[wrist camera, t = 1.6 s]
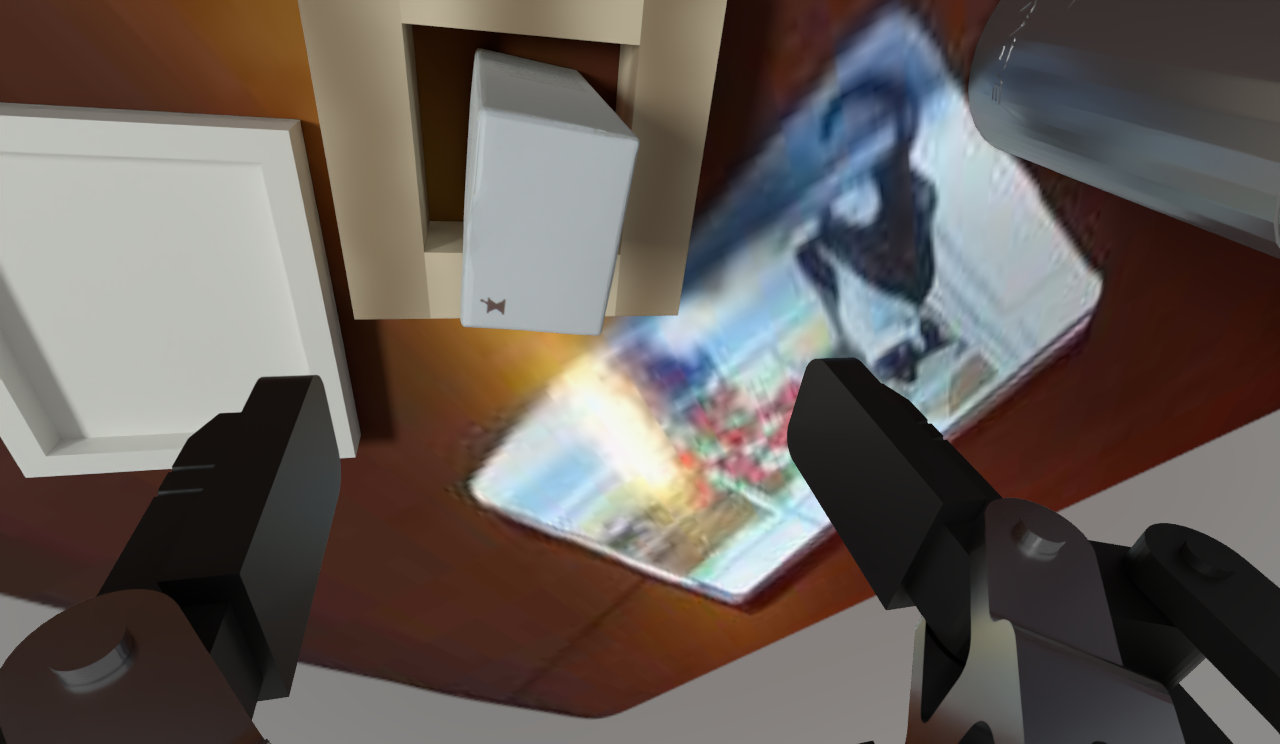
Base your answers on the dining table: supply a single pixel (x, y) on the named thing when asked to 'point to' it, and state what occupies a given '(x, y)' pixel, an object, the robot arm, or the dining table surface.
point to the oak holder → (394, 158)
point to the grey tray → (154, 282)
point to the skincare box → (541, 198)
